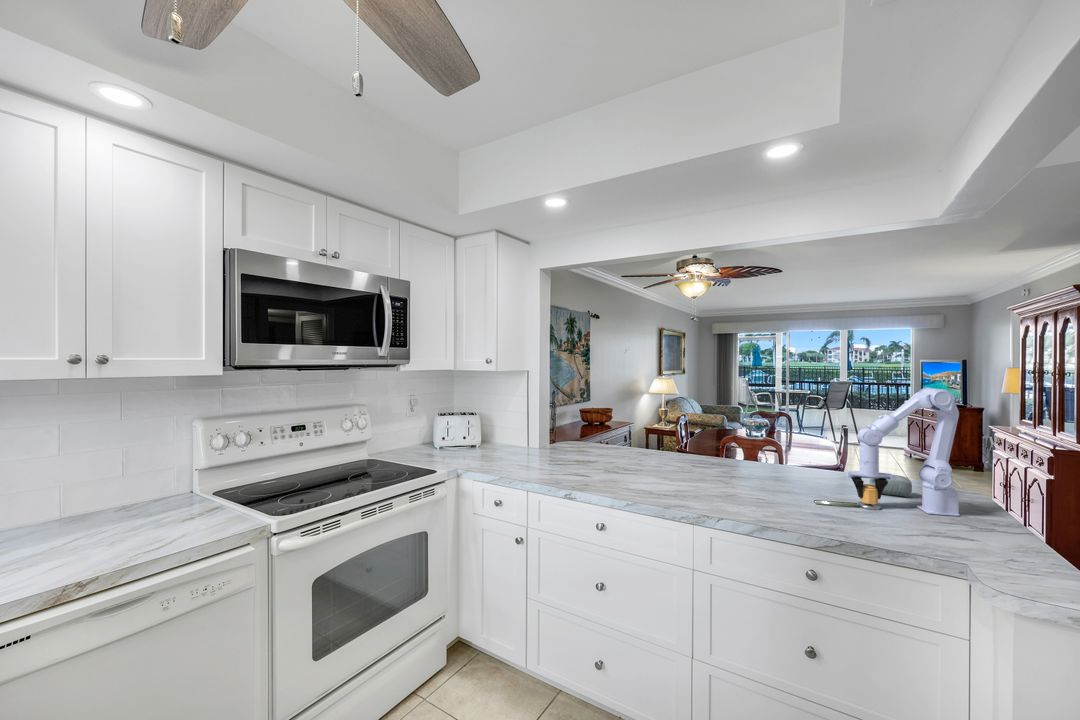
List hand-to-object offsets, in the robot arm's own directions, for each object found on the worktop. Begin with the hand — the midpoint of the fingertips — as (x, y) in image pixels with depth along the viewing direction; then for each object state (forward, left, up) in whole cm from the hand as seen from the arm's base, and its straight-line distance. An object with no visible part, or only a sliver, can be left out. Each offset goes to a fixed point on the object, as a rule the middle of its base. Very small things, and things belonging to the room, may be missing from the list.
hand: (869, 497), depth 170 cm
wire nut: (0, 0, -2) cm, 2 cm away
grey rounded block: (-14, -19, -4) cm, 24 cm away
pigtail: (+7, 0, -3) cm, 8 cm away
